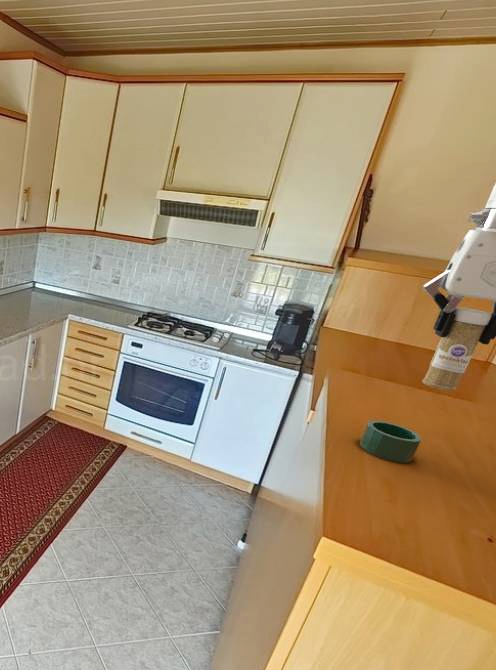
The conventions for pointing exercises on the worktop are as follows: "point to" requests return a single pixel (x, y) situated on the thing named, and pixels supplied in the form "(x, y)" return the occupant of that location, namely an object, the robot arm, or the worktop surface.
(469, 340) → the sprinkles bottle
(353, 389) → the worktop surface
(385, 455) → the holder
